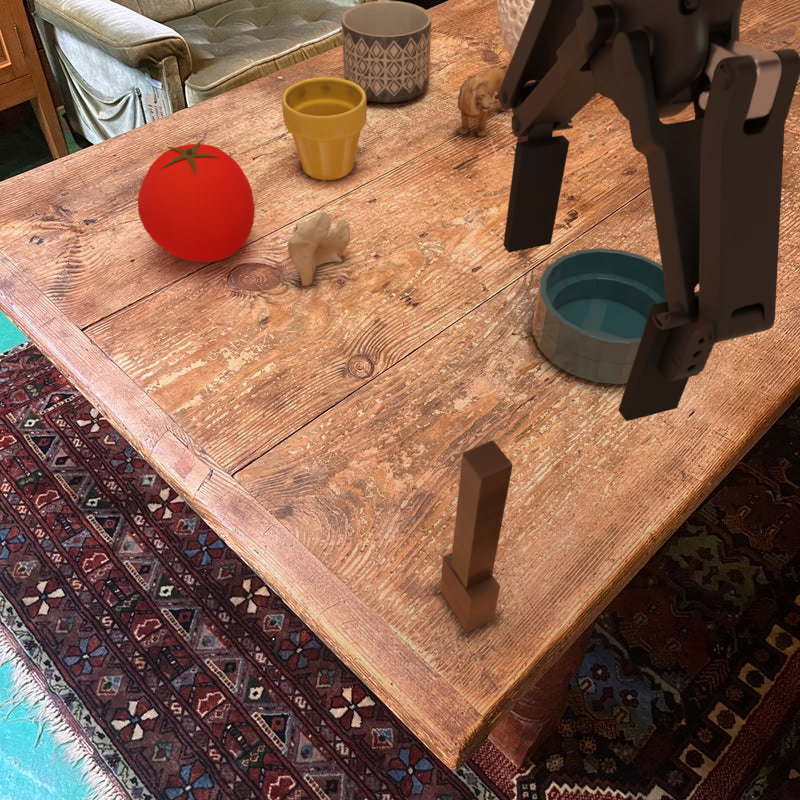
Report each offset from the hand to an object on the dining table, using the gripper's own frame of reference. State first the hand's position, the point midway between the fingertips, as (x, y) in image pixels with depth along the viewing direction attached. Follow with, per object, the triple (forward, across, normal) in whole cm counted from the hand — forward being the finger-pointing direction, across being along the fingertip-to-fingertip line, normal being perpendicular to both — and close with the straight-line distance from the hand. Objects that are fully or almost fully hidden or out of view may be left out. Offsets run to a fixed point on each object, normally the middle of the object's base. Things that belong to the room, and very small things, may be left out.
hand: (580, 318), depth 41 cm
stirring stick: (+27, +1, -5) cm, 27 cm away
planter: (+27, -82, +15) cm, 87 cm away
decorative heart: (+27, -74, +38) cm, 88 cm away
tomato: (+27, -50, -17) cm, 59 cm away
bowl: (+27, -22, +19) cm, 40 cm away
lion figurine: (+27, -67, +25) cm, 76 cm away
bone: (+27, -44, -6) cm, 52 cm away
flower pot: (+27, -63, +1) cm, 69 cm away
